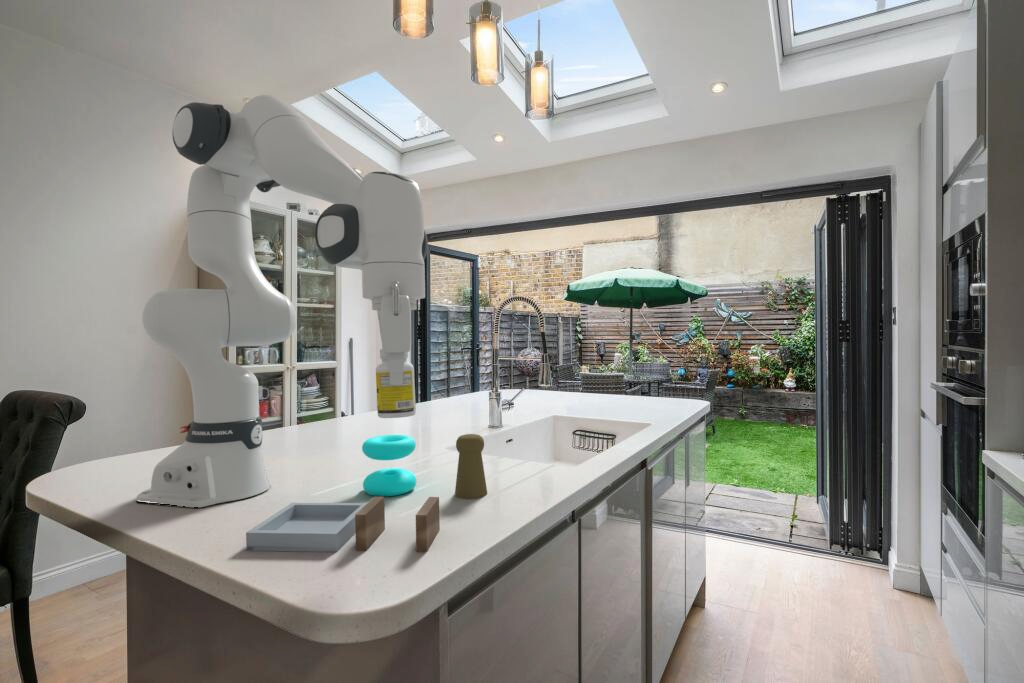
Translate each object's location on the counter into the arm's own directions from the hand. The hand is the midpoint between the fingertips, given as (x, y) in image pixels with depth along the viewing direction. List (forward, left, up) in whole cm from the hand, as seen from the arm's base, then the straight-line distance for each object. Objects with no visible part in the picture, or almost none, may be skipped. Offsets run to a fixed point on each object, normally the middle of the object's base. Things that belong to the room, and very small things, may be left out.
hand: (395, 382), depth 76 cm
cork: (+7, +22, -23) cm, 33 cm away
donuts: (-9, +24, -23) cm, 34 cm away
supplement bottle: (0, 0, -5) cm, 5 cm away
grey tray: (-14, +2, -23) cm, 27 cm away
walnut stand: (0, 0, -23) cm, 23 cm away
